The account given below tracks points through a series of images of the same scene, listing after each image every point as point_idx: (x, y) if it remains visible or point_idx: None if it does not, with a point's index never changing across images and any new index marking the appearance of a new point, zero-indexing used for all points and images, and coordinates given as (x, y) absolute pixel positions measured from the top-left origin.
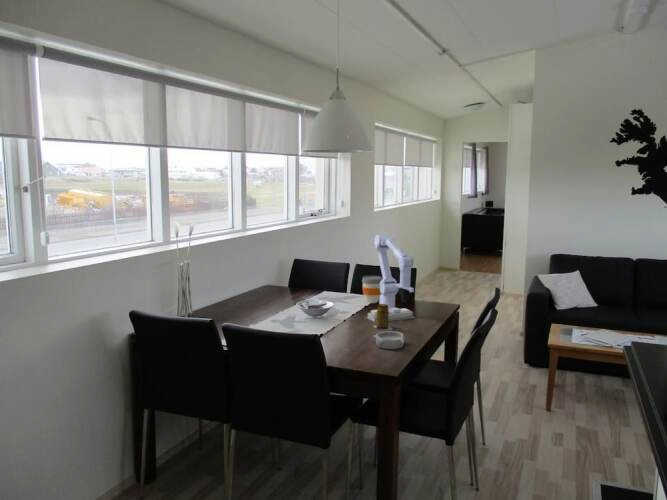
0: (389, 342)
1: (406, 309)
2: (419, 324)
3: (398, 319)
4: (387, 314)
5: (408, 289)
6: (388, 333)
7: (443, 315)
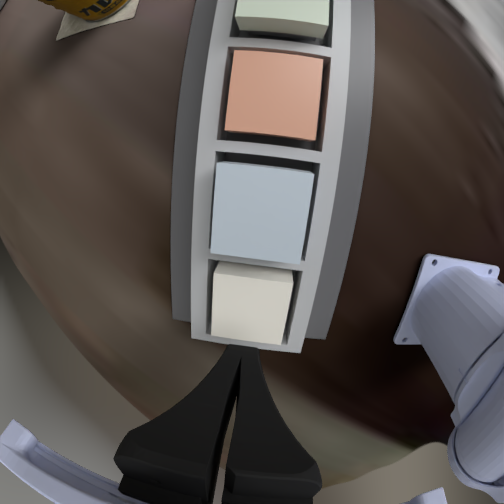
0: None
1: (243, 331)
2: (58, 233)
3: (177, 169)
4: None
5: (30, 463)
6: None
7: None
